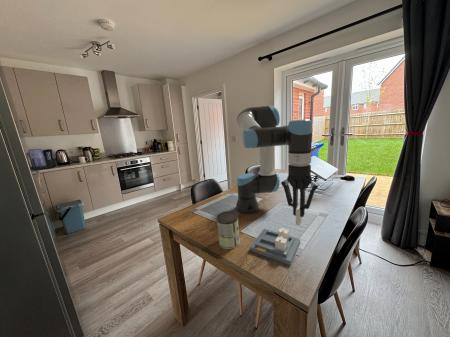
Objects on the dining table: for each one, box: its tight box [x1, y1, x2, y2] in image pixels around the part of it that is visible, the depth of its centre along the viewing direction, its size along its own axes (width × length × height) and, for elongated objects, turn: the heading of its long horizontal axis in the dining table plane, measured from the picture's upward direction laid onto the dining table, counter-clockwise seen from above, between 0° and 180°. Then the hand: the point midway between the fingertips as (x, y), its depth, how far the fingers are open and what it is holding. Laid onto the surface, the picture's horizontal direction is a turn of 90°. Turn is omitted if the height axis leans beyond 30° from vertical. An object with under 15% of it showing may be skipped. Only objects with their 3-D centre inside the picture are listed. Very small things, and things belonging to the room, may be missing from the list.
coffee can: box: [215, 211, 241, 250], centre depth 87 cm, size 10×10×14 cm
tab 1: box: [277, 227, 290, 242], centre depth 83 cm, size 4×3×6 cm
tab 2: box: [275, 236, 287, 252], centre depth 77 cm, size 4×3×6 cm
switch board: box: [249, 228, 301, 266], centre depth 83 cm, size 18×16×3 cm
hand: (298, 223), depth 70 cm, fingers closed
